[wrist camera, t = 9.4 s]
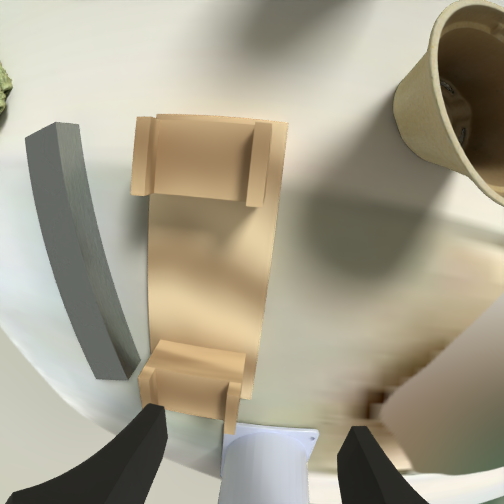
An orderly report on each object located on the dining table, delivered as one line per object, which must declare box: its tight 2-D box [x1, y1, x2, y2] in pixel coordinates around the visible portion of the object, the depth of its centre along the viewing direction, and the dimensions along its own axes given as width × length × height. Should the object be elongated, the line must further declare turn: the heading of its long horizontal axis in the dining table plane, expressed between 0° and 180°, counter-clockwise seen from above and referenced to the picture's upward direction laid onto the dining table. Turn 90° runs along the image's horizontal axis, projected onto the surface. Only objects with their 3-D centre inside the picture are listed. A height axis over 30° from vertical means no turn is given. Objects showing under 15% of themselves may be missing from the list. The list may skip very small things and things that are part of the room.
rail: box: [25, 122, 141, 380], centre depth 19 cm, size 18×3×3 cm, turn 10°
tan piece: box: [131, 114, 288, 435], centre depth 17 cm, size 19×8×5 cm, turn 174°
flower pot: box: [393, 0, 504, 207], centre depth 12 cm, size 9×9×9 cm
